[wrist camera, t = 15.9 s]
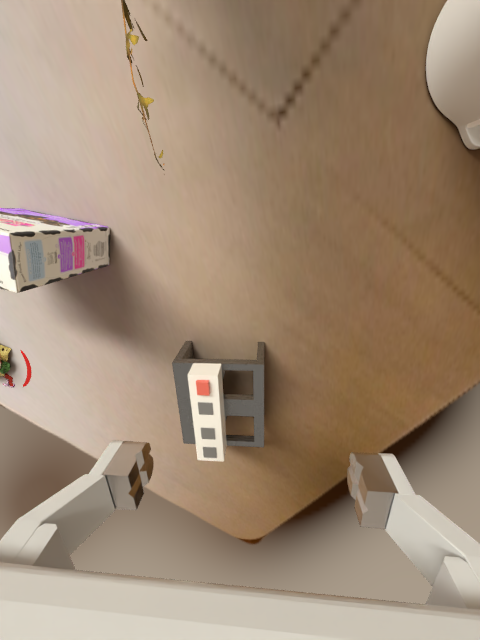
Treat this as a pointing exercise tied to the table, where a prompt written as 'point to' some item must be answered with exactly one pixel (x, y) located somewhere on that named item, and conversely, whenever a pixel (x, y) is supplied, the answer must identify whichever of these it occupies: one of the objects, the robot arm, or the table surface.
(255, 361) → the grey stepped cutout plate
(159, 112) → the table surface
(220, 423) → the power strip
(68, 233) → the candy box
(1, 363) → the hamburger
